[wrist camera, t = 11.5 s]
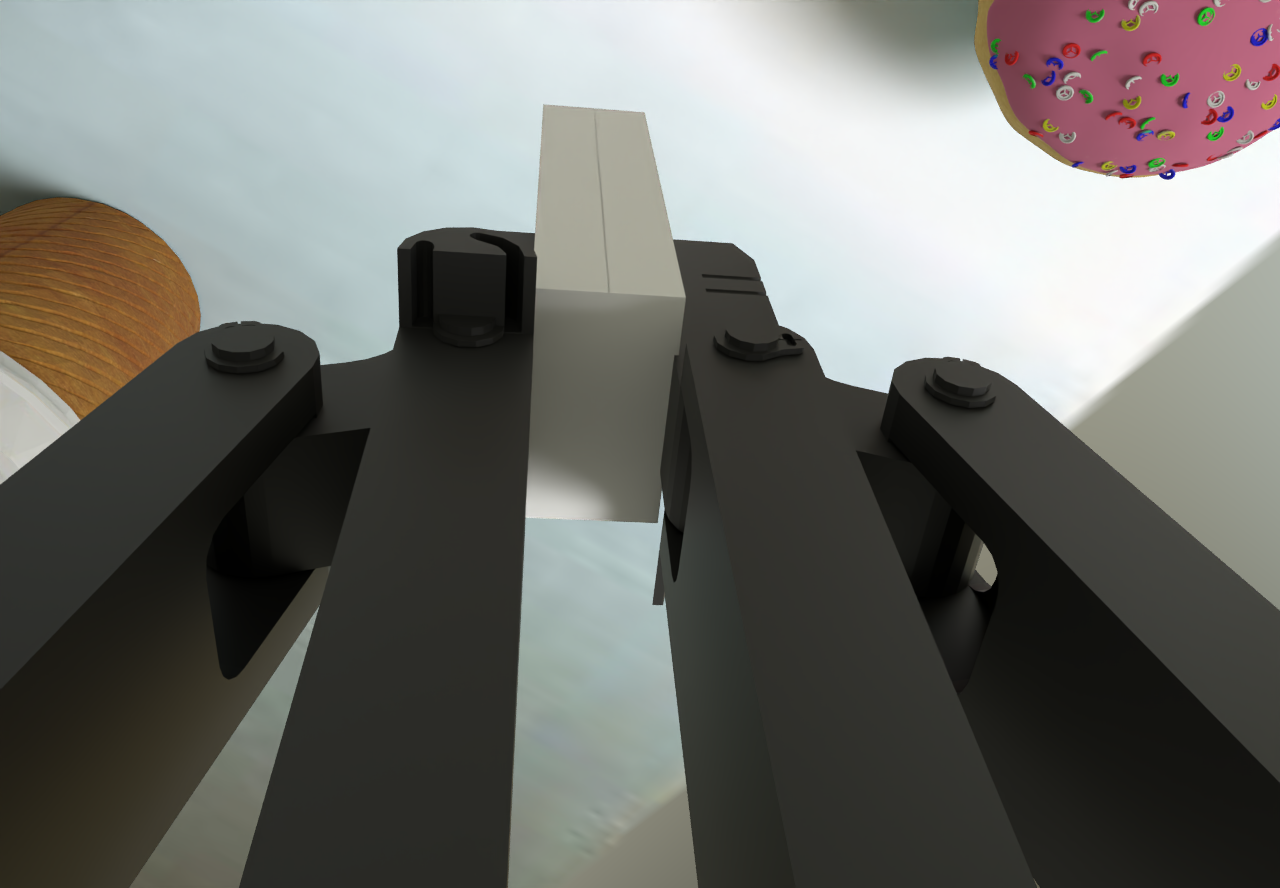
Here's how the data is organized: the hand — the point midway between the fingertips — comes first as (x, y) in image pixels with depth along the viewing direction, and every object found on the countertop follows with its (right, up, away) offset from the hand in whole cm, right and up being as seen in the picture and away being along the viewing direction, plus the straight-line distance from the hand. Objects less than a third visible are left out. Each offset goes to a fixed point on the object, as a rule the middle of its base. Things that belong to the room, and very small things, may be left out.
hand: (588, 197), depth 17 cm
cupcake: (+13, +9, +11) cm, 19 cm away
